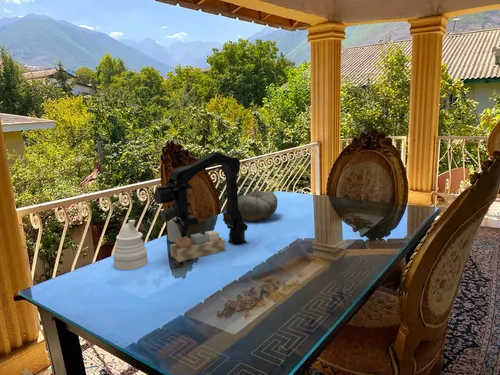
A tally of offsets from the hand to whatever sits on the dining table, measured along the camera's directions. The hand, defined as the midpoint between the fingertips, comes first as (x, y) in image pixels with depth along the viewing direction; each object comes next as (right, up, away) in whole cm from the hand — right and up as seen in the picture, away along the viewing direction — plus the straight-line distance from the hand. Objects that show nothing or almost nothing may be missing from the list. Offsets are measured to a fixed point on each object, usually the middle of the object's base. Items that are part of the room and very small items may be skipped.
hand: (182, 237), depth 157 cm
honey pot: (-20, -10, -5) cm, 23 cm away
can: (-7, -5, +22) cm, 23 cm away
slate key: (+6, -5, +5) cm, 9 cm away
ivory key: (+11, -4, +9) cm, 15 cm away
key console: (+6, -8, +5) cm, 11 cm away
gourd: (+31, +3, +58) cm, 66 cm away
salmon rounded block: (0, -5, +1) cm, 6 cm away
